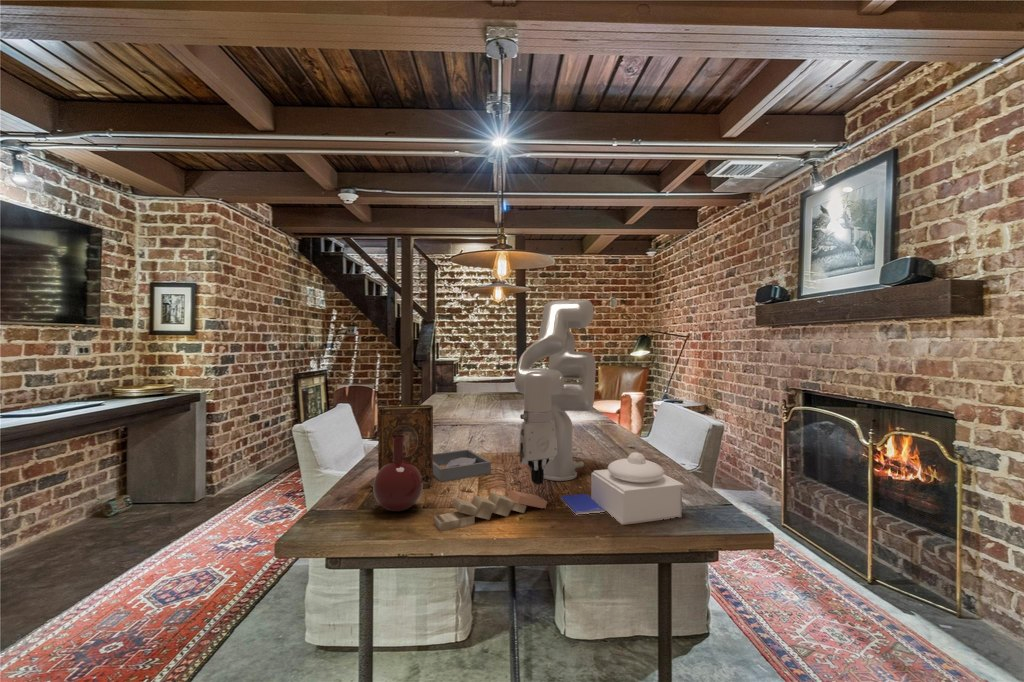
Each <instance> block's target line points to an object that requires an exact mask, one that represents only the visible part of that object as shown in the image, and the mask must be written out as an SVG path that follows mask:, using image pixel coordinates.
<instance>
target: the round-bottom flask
mask: <svg viewBox="0 0 1024 682" xmlns="http://www.w3.org/2000/svg"><path fill="white" fill-rule="evenodd" d="M392 438H393V461H392V462H390V463H388V464H386V465H384V466H383V467H382V468H381V469H380V470H379V471H377V473H376V475H375V477H374V479H373V483H372V487H373V488H372V490H373V491H372V493H373V496H374V498H375V500H376V502H377V503H378V505H380V507H382V508H384V509H385V510H386V511H390V512H402V511H405V510H408V509H410V508H411V507H413V506H414V505H415V504H416V503H417V502H418V500H419V499H420V497H421V495H422V493H423V490H424V489H423V479H422V476H421V473H420V471H419V470H418V469H417V467H416V466H414V465H413V464H412V463H410V462H407V461H403V438H404V436H402V435H396V436H393V437H392Z"/></svg>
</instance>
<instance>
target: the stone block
mask: <svg viewBox="0 0 1024 682" xmlns="http://www.w3.org/2000/svg"><path fill="white" fill-rule="evenodd" d="M475 463H476V458H475V459H472V458H458V459H453V460H451V461H450V462H449V463H448V464H446V465H445V468H448V467H455V466H461V465H468V464H475Z"/></svg>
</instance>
